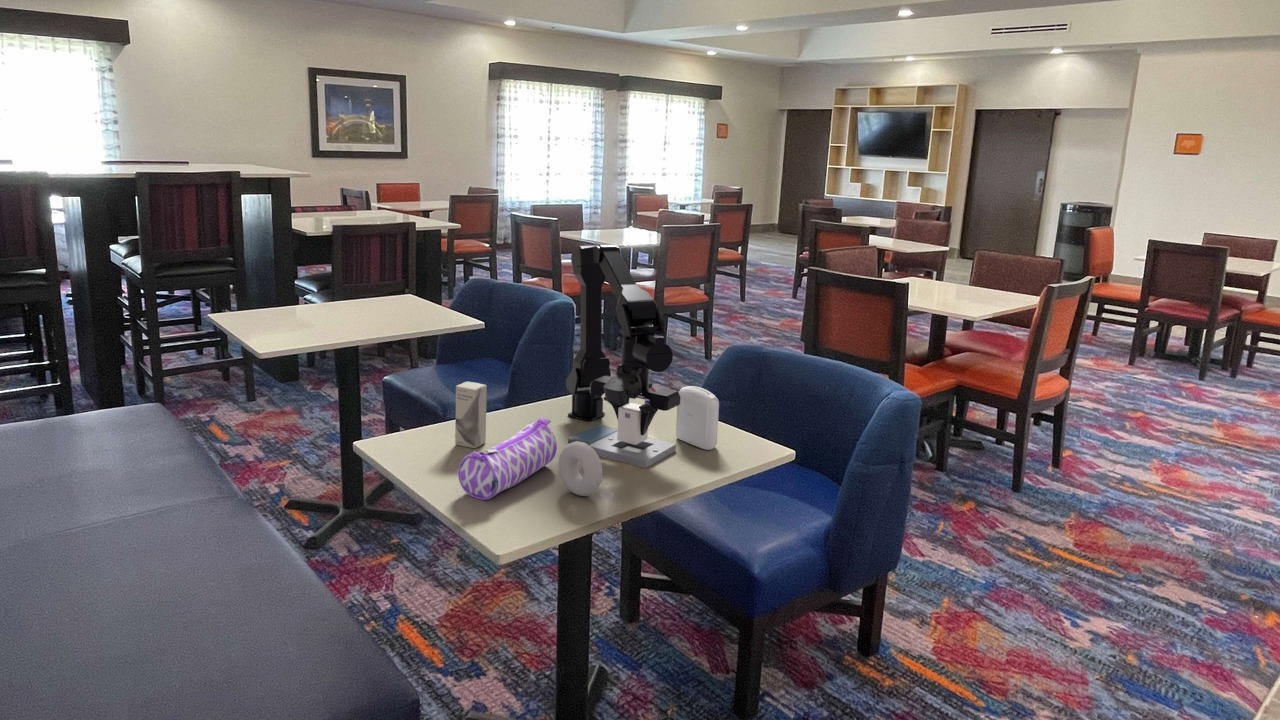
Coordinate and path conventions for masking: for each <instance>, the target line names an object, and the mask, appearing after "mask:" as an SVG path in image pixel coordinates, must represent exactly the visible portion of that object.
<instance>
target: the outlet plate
mask: <svg viewBox="0 0 1280 720" xmlns="http://www.w3.org/2000/svg"><path fill="white" fill-rule="evenodd" d="M617 437H618V432H615V433H613V434H611V435H609V436H607V437H605V438H603V439H601V440H599V441H597V442H595V443H593V444H590V445H589V446H591V447H592V448H593V449H594V451H595V452H596V453H597V455H598V457H604V458H608V459H611V460H614V461H618V462H621V463H625V464H629V465H633V466H636V467H640V468H642V469H643V468H644V469H647V468H649V467H650V466H652V465H654V464H655V463H658V462H660V461H661V460H662V459H665V458H667V456H670V455H671V454H674V453H675V452H676V451H677V444H676V443H672V442H669V441H665V440H660V439H658V438H657V439H656V438H652V437H648V436H647V439H646V440H644V441H642V442H640V443H639V444H637V445H634V444H630V443H627V442H623V441H619V440H617Z"/></svg>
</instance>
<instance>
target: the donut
mask: <svg viewBox="0 0 1280 720" xmlns="http://www.w3.org/2000/svg"><path fill="white" fill-rule="evenodd" d="M558 460H559V462H558V470H559V473H560V474H559V475H560V477H561V480H562V482H563V484H564V485H565V487H566V488H567V489H568V490H569V491H570V493H573V494H575V495H576V496H581V497H586V496H591V495H592V494H594V493H595V492H596V491H597V490H598V489H599V487H600V485H601V483H602V479H603V466H602V462H601V459H600V456H599V455H597V453H596V452H595V451H594V449H593V448H592V447H591V446H589V445H588V444H586V443H584V442H579V441H575V442H572V443H571V442H568V444H567V445H566V446H565V447H563V449H562V451H561V452H560V454H559V459H558ZM578 462H579V463H580V465H581V466H582V469H583V476H582V475H581V474H580V472H579V469H578Z"/></svg>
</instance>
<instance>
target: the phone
mask: <svg viewBox="0 0 1280 720" xmlns="http://www.w3.org/2000/svg"><path fill="white" fill-rule="evenodd" d="M615 432H618V429H616V428H613V427H607V426H605V425H600V424H596V425H594V426H592V427H590V428H587V429H586V430H584V431H583V430H582V431H581V432H579V433H576V434H574V435H572V436H570V437H568V439H567V442H568V443H572V442H575V441H579V442H584V443H586V444H588V445H590V444H593V443H595V442H597V441H599V440H601V439H603V438H605V437H607V436H609V435H611V434H613V433H615Z"/></svg>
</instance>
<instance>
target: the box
mask: <svg viewBox="0 0 1280 720" xmlns="http://www.w3.org/2000/svg"><path fill="white" fill-rule="evenodd" d="M487 388H488V387H487V384H483V383H479V382H473V381H464V382H462V383H460V384H457V385H455V431H454V432H455V434H454V435H455V437H454V438H455V442H454V444H455V445H458V446H461V447H466V448H471V449H476V448H478V447H480V446H482V445H484V444H485V443H486V438H487V437H486V436H487V435H486V434H487V433H486V432H487Z"/></svg>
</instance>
